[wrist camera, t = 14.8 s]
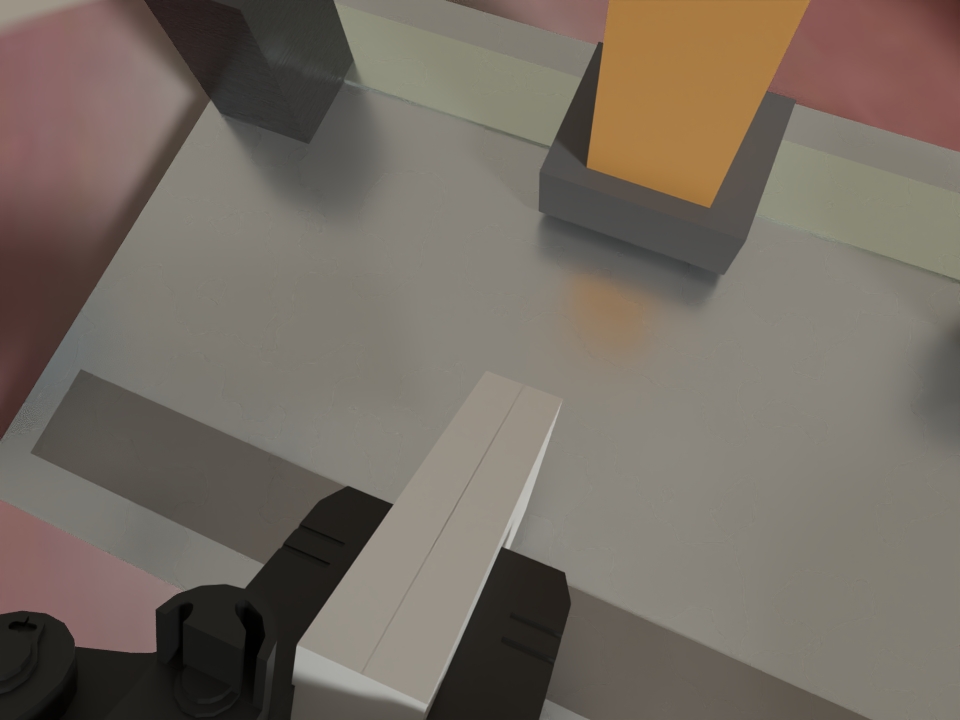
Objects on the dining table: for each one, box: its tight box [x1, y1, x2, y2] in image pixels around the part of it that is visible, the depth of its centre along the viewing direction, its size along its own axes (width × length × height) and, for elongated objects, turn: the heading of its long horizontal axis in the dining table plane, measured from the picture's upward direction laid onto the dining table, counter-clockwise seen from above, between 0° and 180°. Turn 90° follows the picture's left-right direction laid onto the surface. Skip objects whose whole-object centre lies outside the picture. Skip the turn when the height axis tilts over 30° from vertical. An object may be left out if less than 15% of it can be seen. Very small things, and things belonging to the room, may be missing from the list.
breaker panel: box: [0, 0, 960, 720], centre depth 16 cm, size 26×18×6 cm
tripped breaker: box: [539, 0, 810, 275], centre depth 14 cm, size 5×4×10 cm
